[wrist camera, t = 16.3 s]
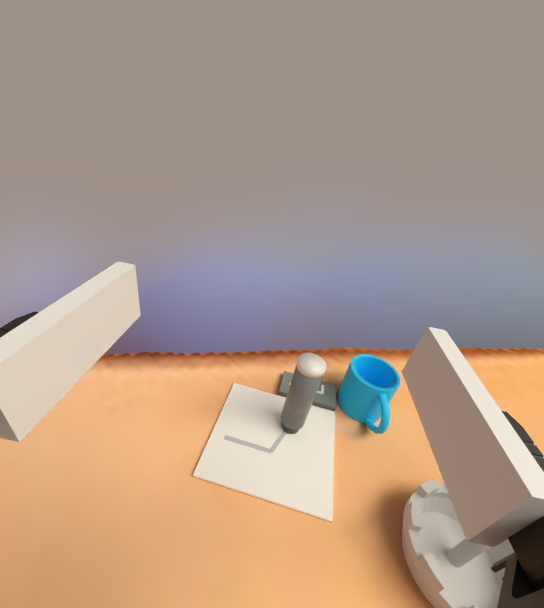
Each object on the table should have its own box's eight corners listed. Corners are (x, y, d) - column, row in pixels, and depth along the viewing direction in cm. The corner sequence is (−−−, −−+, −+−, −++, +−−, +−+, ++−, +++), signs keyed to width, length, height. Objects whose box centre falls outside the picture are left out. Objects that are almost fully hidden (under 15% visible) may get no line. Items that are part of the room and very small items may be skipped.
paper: (192, 476, 35) (192, 474, 35) (233, 384, 49) (234, 382, 48) (331, 522, 33) (332, 520, 33) (334, 413, 47) (334, 411, 47)
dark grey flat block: (278, 394, 48) (279, 390, 48) (283, 374, 52) (284, 370, 52) (334, 410, 47) (335, 406, 47) (334, 389, 51) (336, 385, 51)
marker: (275, 431, 41) (296, 367, 35) (280, 411, 45) (300, 349, 39) (300, 440, 41) (326, 376, 35) (303, 419, 44) (326, 357, 38)
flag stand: (378, 493, 37) (518, 310, 21) (469, 502, 38) (667, 333, 22) (421, 647, 26) (779, 501, 10) (548, 655, 27) (1053, 531, 11)
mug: (332, 383, 53) (344, 352, 48) (372, 387, 54) (388, 356, 49) (349, 444, 43) (367, 410, 38) (398, 446, 44) (421, 414, 39)
